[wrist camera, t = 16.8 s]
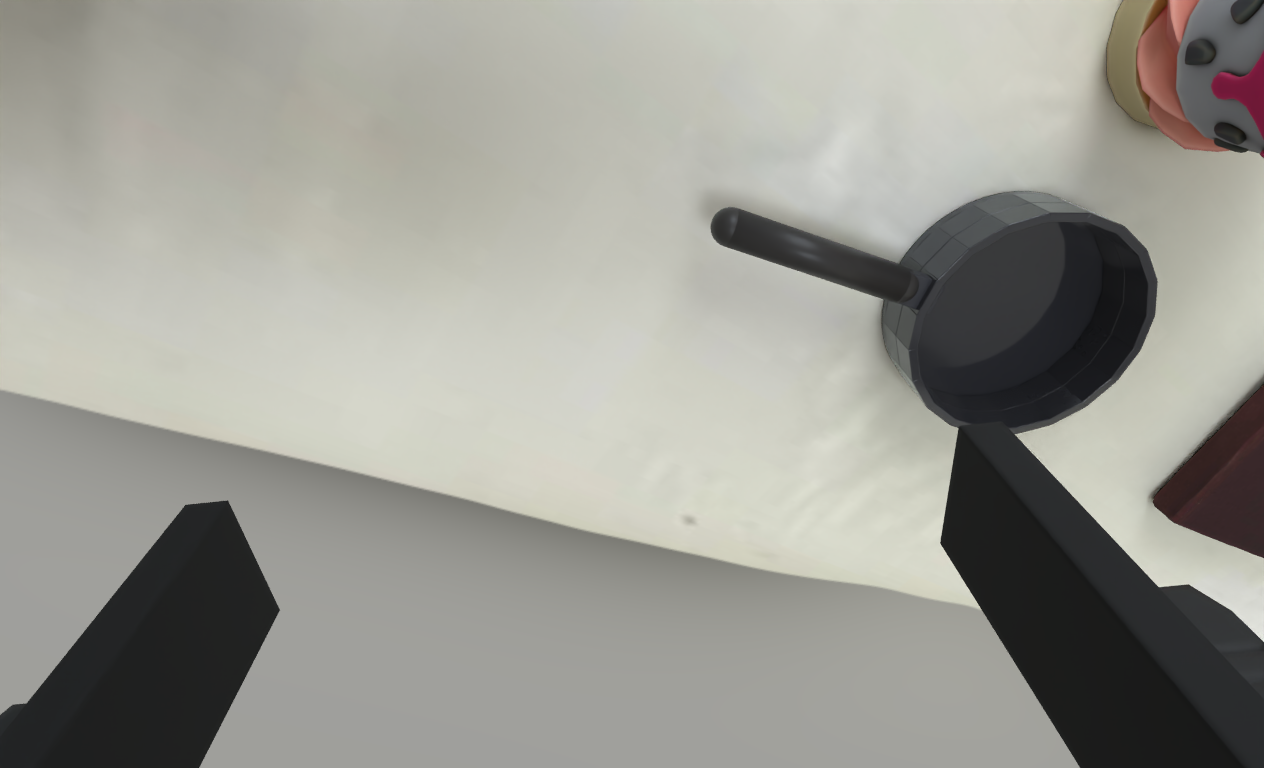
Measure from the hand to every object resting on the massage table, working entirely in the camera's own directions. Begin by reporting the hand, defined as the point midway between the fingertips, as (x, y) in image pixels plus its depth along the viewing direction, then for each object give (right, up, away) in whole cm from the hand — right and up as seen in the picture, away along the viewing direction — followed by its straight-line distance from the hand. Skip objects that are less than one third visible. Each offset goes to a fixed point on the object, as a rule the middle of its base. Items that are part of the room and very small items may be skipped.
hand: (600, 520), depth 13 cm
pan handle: (+11, +10, +25) cm, 29 cm away
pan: (+22, +7, +30) cm, 38 cm away
